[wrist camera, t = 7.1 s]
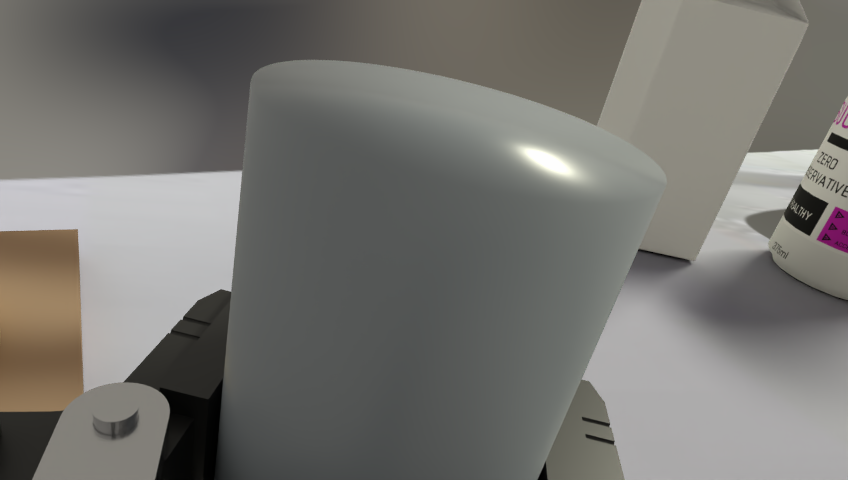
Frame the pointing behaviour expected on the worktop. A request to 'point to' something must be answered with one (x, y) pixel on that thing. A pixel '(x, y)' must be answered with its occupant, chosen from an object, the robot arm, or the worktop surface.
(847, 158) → the supplement can
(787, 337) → the worktop surface
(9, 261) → the post base
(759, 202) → the worktop surface
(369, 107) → the grey rounded cylinder
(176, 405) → the robot arm
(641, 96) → the milk carton
